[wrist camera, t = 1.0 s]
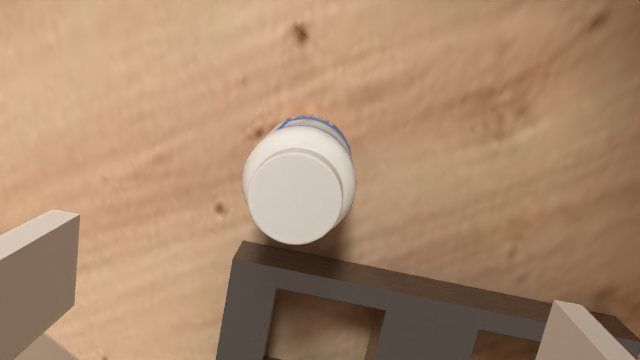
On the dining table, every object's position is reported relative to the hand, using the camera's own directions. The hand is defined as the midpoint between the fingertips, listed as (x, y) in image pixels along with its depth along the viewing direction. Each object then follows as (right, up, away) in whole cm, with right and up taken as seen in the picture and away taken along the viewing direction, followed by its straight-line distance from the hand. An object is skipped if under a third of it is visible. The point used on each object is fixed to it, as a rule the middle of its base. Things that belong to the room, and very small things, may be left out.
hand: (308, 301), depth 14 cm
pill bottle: (0, +5, +17) cm, 17 cm away
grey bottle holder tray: (+6, -7, +19) cm, 21 cm away
